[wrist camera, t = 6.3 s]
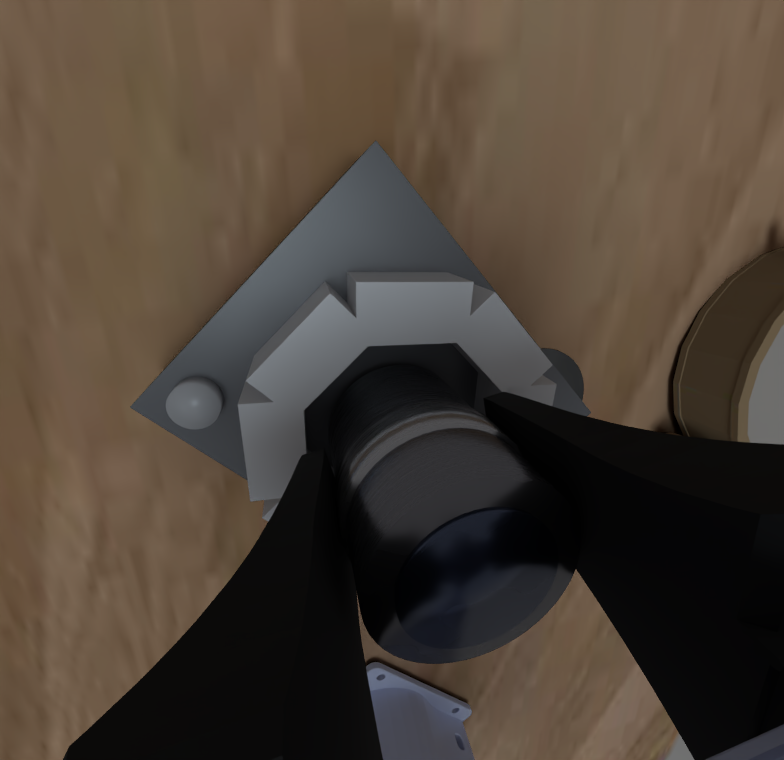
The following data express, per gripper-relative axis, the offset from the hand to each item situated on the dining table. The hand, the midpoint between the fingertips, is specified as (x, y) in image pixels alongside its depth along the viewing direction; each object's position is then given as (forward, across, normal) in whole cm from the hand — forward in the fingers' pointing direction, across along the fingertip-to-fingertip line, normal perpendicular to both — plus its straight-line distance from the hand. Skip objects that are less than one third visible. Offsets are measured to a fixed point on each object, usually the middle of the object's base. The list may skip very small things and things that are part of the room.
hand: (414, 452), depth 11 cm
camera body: (+6, 0, 0) cm, 6 cm away
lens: (+2, 0, 0) cm, 2 cm away
